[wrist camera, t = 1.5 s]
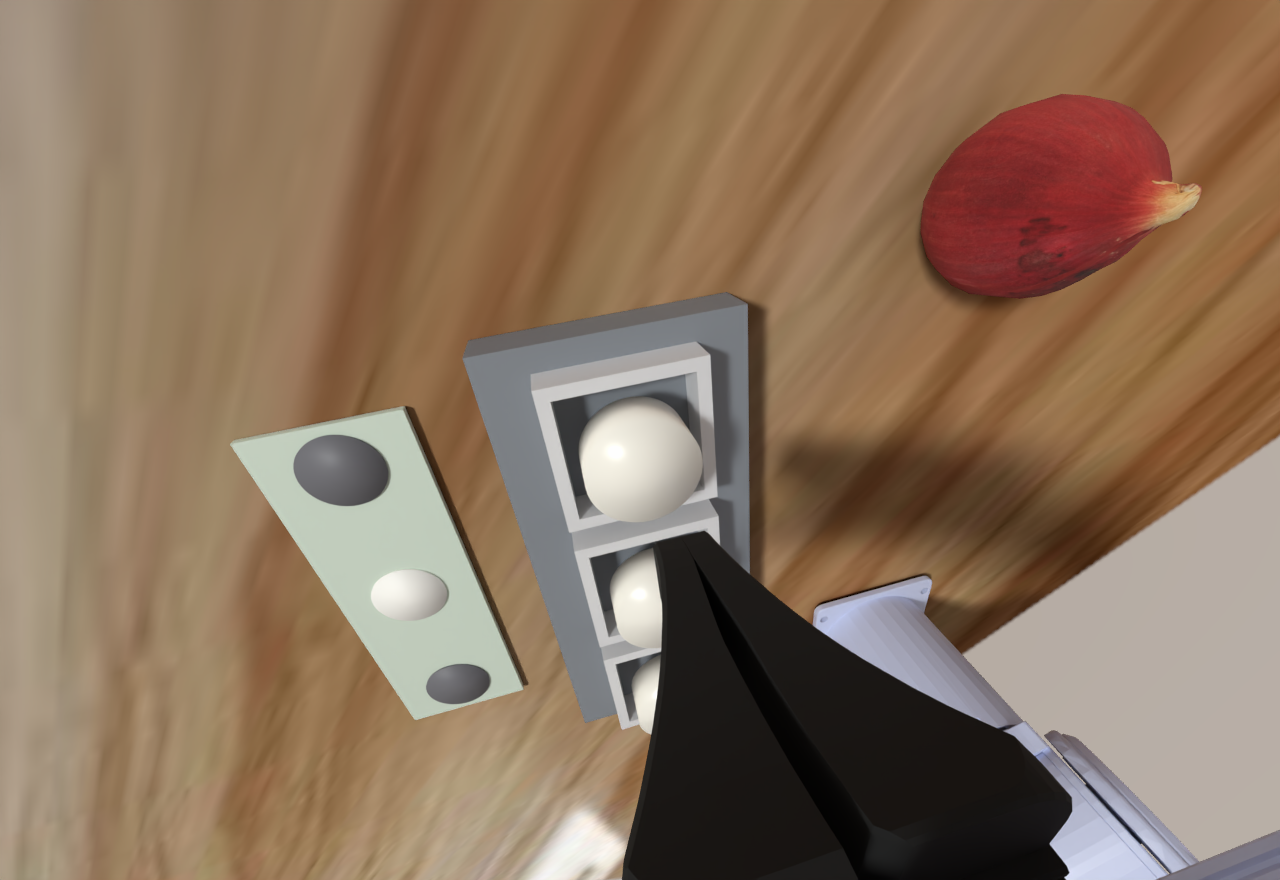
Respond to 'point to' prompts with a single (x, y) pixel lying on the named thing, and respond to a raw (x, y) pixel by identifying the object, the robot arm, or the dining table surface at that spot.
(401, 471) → the card
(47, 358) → the dining table surface
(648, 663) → the button far
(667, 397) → the button board
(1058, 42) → the dining table surface
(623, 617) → the button middle
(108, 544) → the dining table surface
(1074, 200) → the onion
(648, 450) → the button near
